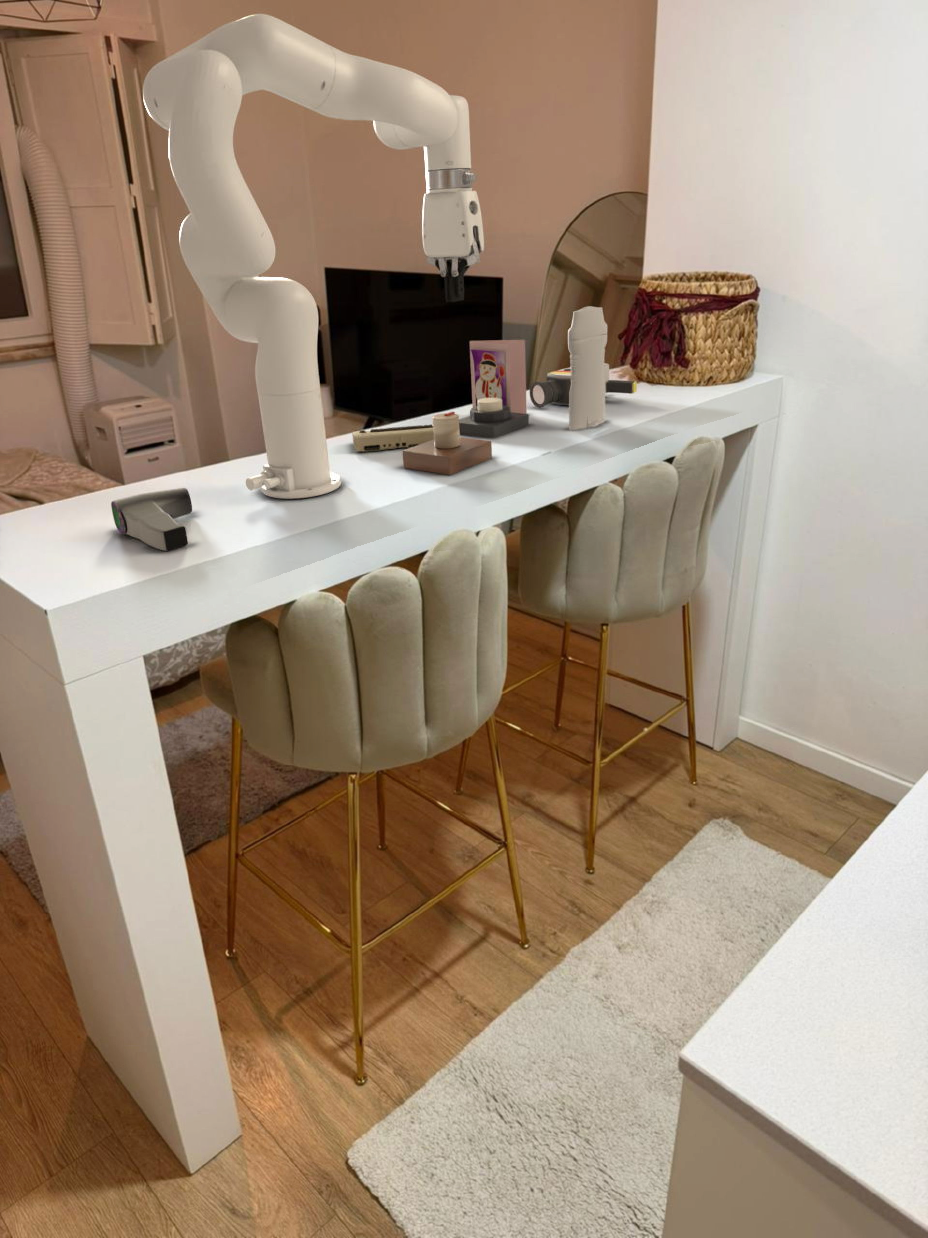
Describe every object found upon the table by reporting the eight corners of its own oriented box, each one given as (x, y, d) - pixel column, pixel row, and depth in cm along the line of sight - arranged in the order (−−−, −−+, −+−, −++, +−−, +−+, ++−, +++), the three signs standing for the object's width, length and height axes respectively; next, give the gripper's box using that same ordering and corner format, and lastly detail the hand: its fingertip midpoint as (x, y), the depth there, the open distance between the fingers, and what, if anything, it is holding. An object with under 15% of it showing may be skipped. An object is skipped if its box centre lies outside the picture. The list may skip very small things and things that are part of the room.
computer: (434, 436, 170) (433, 418, 169) (440, 446, 163) (439, 428, 162) (353, 443, 169) (351, 425, 167) (355, 453, 161) (353, 435, 160)
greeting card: (469, 415, 186) (466, 341, 180) (495, 409, 190) (492, 336, 184) (508, 422, 178) (505, 345, 172) (533, 415, 183) (532, 340, 176)
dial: (449, 449, 148) (447, 417, 146) (429, 446, 150) (427, 415, 148) (465, 443, 151) (463, 412, 149) (445, 441, 154) (443, 410, 151)
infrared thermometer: (159, 560, 117) (109, 530, 127) (239, 535, 125) (186, 509, 134) (154, 527, 115) (103, 499, 125) (235, 504, 123) (181, 480, 132)
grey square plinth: (494, 438, 167) (493, 417, 165) (452, 433, 172) (450, 412, 170) (528, 425, 175) (528, 404, 173) (487, 420, 181) (486, 400, 179)
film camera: (574, 420, 181) (528, 408, 192) (642, 400, 190) (594, 390, 201) (573, 386, 177) (526, 375, 189) (643, 368, 187) (594, 359, 198)
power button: (493, 414, 169) (492, 403, 168) (472, 411, 172) (472, 401, 171) (507, 409, 172) (506, 398, 172) (487, 407, 175) (486, 396, 174)
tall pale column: (576, 431, 168) (577, 309, 159) (560, 429, 171) (560, 308, 162) (613, 421, 174) (615, 303, 165) (597, 419, 177) (598, 302, 168)
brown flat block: (450, 475, 145) (449, 457, 144) (403, 467, 151) (402, 450, 149) (492, 458, 153) (491, 440, 152) (446, 451, 159) (445, 435, 158)
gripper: (499, 179, 144) (502, 298, 152) (428, 185, 153) (434, 297, 160) (472, 180, 139) (477, 303, 147) (399, 185, 147) (408, 302, 155)
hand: (454, 300), depth 153 cm, fingers closed
